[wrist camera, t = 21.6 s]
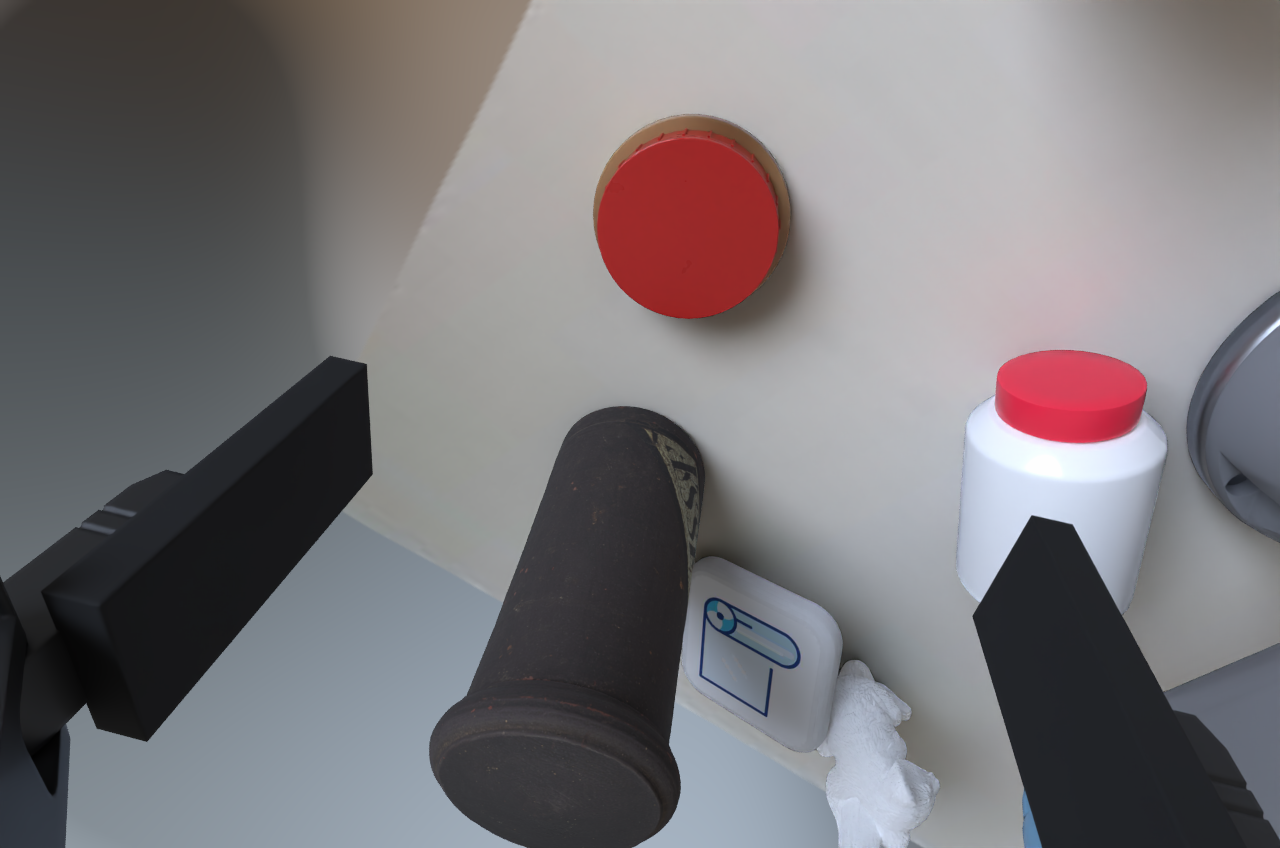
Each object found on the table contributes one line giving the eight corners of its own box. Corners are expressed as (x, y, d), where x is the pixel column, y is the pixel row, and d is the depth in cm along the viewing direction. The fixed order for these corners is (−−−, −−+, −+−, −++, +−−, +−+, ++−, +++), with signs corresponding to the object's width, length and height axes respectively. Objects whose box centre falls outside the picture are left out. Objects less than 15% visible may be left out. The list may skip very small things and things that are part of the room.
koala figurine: (866, 735, 50) (889, 928, 40) (777, 700, 49) (778, 885, 39) (937, 664, 45) (984, 861, 35) (840, 624, 45) (859, 812, 35)
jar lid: (634, 100, 30) (627, 107, 29) (810, 167, 31) (812, 178, 29) (584, 269, 35) (575, 283, 33) (738, 327, 35) (737, 344, 33)
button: (683, 554, 43) (837, 630, 37) (700, 542, 44) (852, 615, 38) (676, 683, 47) (813, 770, 41) (692, 669, 48) (828, 752, 42)
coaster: (815, 137, 31) (816, 140, 30) (761, 327, 36) (761, 332, 35) (610, 94, 31) (607, 96, 31) (584, 287, 36) (581, 291, 35)
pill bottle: (979, 509, 41) (995, 330, 35) (1144, 549, 36) (1191, 350, 31) (934, 597, 36) (945, 404, 30) (1119, 656, 31) (1170, 442, 26)
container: (662, 547, 44) (602, 905, 27) (531, 479, 43) (384, 813, 26) (741, 451, 39) (726, 811, 23) (597, 372, 38) (470, 693, 21)
